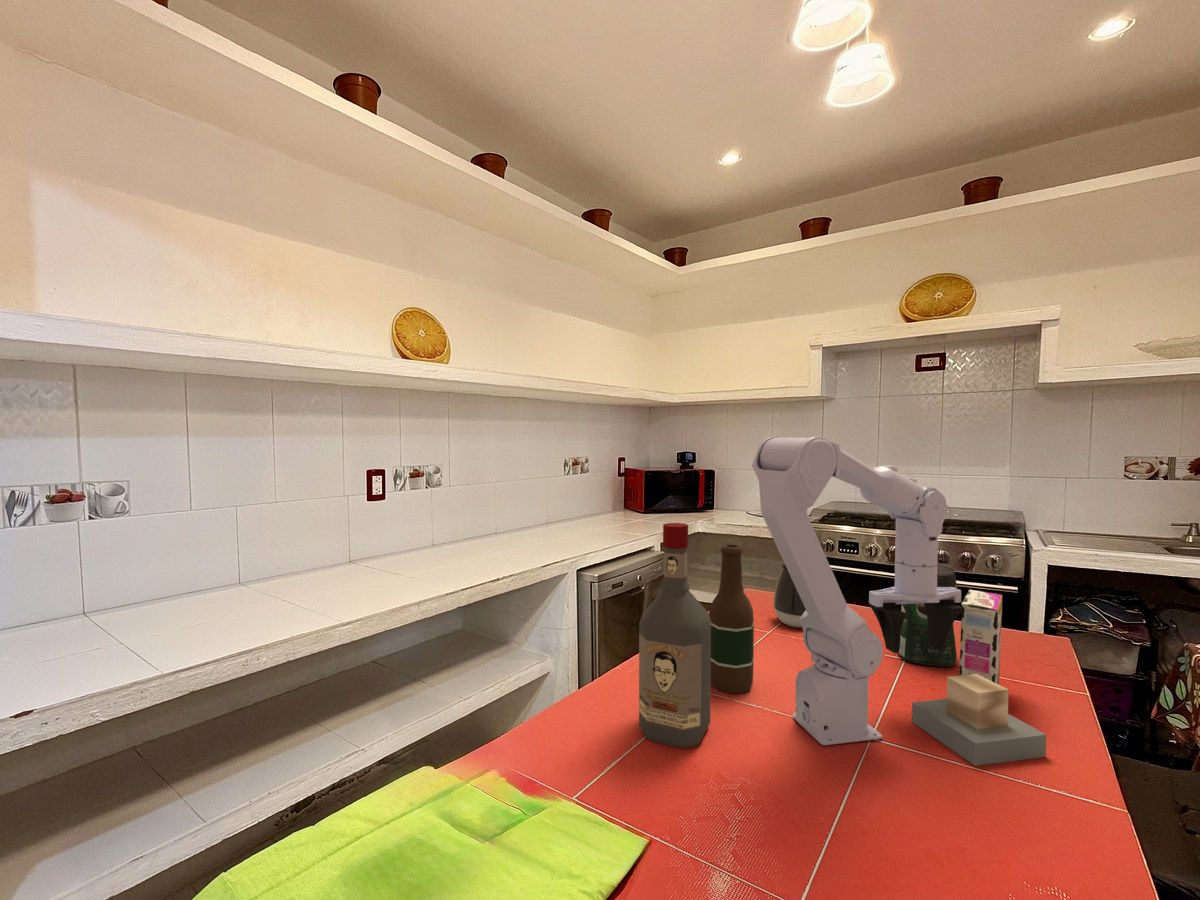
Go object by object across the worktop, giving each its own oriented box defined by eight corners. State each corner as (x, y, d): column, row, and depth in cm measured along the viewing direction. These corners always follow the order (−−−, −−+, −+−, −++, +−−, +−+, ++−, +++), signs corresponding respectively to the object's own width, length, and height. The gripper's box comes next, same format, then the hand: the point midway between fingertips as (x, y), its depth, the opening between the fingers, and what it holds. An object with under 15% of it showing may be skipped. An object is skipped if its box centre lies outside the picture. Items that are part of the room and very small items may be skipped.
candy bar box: (996, 716, 83) (998, 610, 83) (957, 706, 86) (959, 603, 86) (1001, 689, 92) (1003, 593, 91) (965, 681, 95) (967, 587, 94)
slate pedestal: (974, 766, 71) (975, 743, 71) (911, 721, 82) (912, 702, 81) (1045, 756, 73) (1046, 734, 73) (974, 714, 84) (975, 695, 83)
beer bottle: (723, 670, 99) (724, 539, 99) (762, 684, 94) (763, 545, 93) (698, 684, 94) (699, 545, 93) (738, 699, 88) (739, 552, 88)
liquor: (655, 708, 86) (656, 518, 85) (713, 721, 82) (714, 522, 81) (634, 738, 77) (634, 527, 76) (697, 754, 73) (698, 532, 72)
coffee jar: (949, 654, 106) (950, 559, 106) (961, 671, 99) (963, 569, 98) (893, 648, 110) (894, 556, 109) (901, 663, 102) (902, 565, 102)
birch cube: (977, 729, 74) (977, 693, 74) (946, 711, 79) (947, 676, 79) (1007, 725, 75) (1008, 689, 75) (975, 707, 80) (976, 673, 80)
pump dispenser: (763, 622, 124) (763, 556, 124) (790, 613, 131) (791, 550, 130) (803, 635, 116) (804, 565, 116) (830, 625, 122) (831, 558, 122)
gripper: (891, 571, 80) (889, 662, 80) (978, 567, 82) (976, 656, 82) (861, 559, 87) (859, 644, 87) (941, 556, 89) (940, 638, 89)
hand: (914, 649), depth 85 cm, fingers open, 7 cm apart
